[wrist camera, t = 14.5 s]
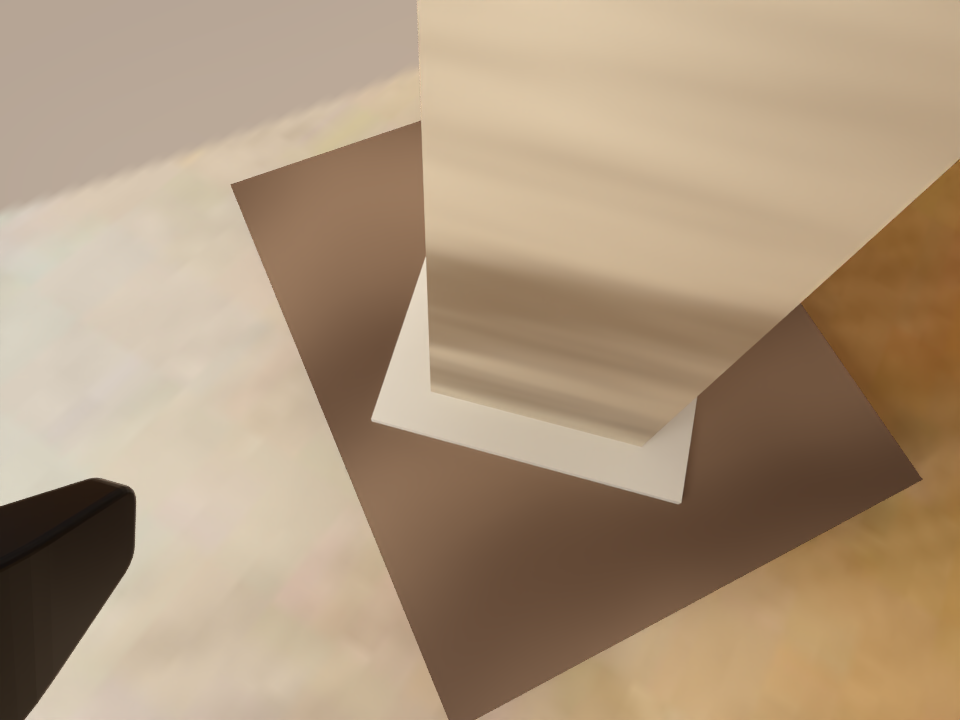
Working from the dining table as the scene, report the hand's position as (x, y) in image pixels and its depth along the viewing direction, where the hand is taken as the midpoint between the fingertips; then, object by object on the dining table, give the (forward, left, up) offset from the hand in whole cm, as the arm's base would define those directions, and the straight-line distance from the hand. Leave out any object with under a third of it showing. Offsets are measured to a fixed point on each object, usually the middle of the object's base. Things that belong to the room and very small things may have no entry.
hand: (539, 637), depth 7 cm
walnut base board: (+6, -5, -9) cm, 12 cm away
